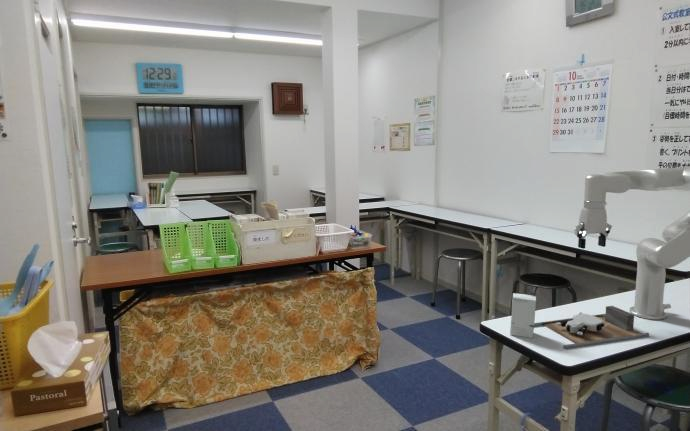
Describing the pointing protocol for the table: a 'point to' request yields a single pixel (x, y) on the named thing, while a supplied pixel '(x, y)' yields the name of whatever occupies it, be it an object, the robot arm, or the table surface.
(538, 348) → the table surface
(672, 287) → the table surface
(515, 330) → the skincare box
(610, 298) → the table surface
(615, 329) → the brown rectangular mat
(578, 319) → the robot toy
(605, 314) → the guide rails
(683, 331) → the table surface
